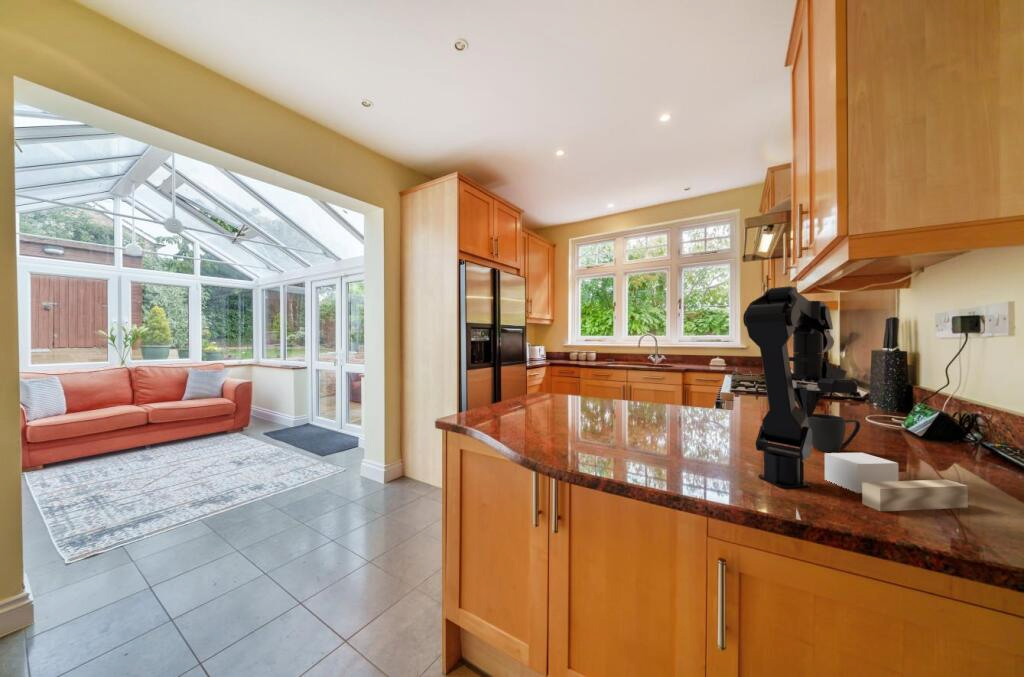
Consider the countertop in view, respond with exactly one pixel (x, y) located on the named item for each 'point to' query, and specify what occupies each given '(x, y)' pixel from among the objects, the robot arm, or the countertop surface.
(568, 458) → the countertop surface
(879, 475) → the block
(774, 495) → the countertop surface
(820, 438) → the mug
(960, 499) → the board
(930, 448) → the countertop surface
